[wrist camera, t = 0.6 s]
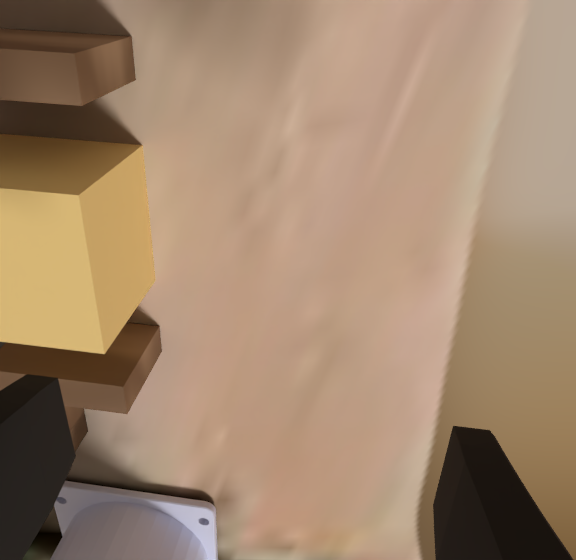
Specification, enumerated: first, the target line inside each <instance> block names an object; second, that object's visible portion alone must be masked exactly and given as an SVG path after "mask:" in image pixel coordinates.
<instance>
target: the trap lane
mask: <svg viewBox="0 0 576 560" xmlns="http://www.w3.org/2000/svg"><path fill="white" fill-rule="evenodd" d="M134 80H136V79H135V69H134V58H133V48H132V37H131V36H116V35H100V34H83V33H67V32H50V31H34V30H18V29H1V28H0V100H10V101H23V102H37V103H50V104H63V105H77V106H83V105H85V104H87V103H89V102H91V101H93V100H95V99H97V98H99V97H101V96H104V95H106V94H108V93H110V92H112V91H114V90H116V89H118V88H120V87H122V86H124V85H126V84H128V83H130V82H132V81H134ZM161 352H162V349H161V339H160V328H159V326H152V325H144V324H135V323H126V324H125V325H124V327H123V328H122V330H121V331H120V333H119V334H118V335H117V337H116V338H115V340H114V341H113V343H112V344H111V346H110V347H109V348H108V350H107V351H106V353H105V354H99V353H91V352H83V351H74V350H66V349H58V348H49V347H41V346H33V345H24V344H16V343H8V342H0V391H1V390H2V389H4V388H5V387H7V386H8V385H10V384H12V383H13V382H15V381H17V380H18V379H20V378H22V377H23V376H25V375H27V374H31V375H39V376H47V377H55V378H58V380H59V385H60V389H61V394H62V398H63V402H64V407H65V411H66V416H67V420H68V424H69V429H70V433H71V437H72V442H73V446H74V451H76V449H77V448H78V446H79V445H80V443H81V441H82V440H83V438H84V436H85V435H86V433H87V432H88V429H87V424H86V419H85V414H84V409H83V408H85V409H93V410H101V411H108V412H116V413H123V414H127V413H128V412H129V410H130V408H131V406H132V404H133V402H134V401H135V399H136V397H137V395H138V393H139V392H140V390H141V388H142V386H143V384H144V383H145V381H146V379H147V377H148V375H149V373H150V372H151V370H152V368H153V366H154V364H155V363H156V361H157V359H158V357H159V355H160V353H161Z"/></svg>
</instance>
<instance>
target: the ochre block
mask: <svg viewBox="0 0 576 560" xmlns="http://www.w3.org/2000/svg"><path fill="white" fill-rule="evenodd" d="M154 282H155V271H154V260H153V250H152V239H151V229H150V218H149V208H148V197H147V187H146V177H145V166H144V156H143V145H133V144H121V143H108V142H96V141H84V140H71V139H59V138H47V137H34V136H22V135H10V134H0V342H8V343H16V344H24V345H33V346H41V347H49V348H58V349H66V350H74V351H83V352H91V353H99V354H105V353H106V351H107V350H108V348H109V347H110V346H111V344H112V343H113V341H114V340H115V338H116V337H117V335H118V334H119V333H120V331H121V330H122V328H123V327H124V325H125V324H126V322H127V321H128V320H129V318H130V317H131V315H132V314H133V312H134V311H135V309H136V308H137V306H138V305H139V304H140V302H141V301H142V299H143V298H144V296H145V295H146V293H147V292H148V291H149V289H150V288H151V286H152V285H153V283H154Z"/></svg>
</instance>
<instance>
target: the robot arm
mask: <svg viewBox="0 0 576 560" xmlns="http://www.w3.org/2000/svg"><path fill="white" fill-rule="evenodd" d="M75 456H76V455H75V451H74V446H73V442H72V437H71V433H70V429H69V424H68V420H67V416H66V411H65V407H64V402H63V398H62V394H61V389H60V385H59V380H58V378H55V377H47V376H39V375H31V374H27V375H25V376H23V377H22V378H20V379H18V380H17V381H15V382H13V383H12V384H10V385H8V386H7V387H5V388H4V389H2V390H1V391H0V560H22V559H23V557H24V555H25V554H26V552H27V550H28V549H29V547H30V545H31V544H32V542H33V540H34V539H35V537H36V535H37V534H38V532H39V530H40V528H41V527H42V525H43V523H44V522H45V520H46V518H47V517H48V515H49V513H50V511H51V510H52V508H53V506H54V507H55V511H56V515H57V518H58V522H59V526H60V530H61V533H62V539H61V540H60V542H59V544H58V546H57V548H56V550H55V551H54V553H53V555H52V557H51V559H50V560H218V551H217V526H216V509H215V507H214V505H213V504H211V503H210V502H207V501H201V500H194V499H188V498H181V497H174V496H167V495H160V494H153V493H146V492H140V491H133V490H126V489H119V488H112V487H105V486H98V485H92V484H85V483H78V482H71V481H65V480H66V477H67V475H68V472H69V470H70V468H71V465H72V463H73V461H74V458H75ZM433 509H434V534H435V554H436V560H573V559H572V557H571V556H570V554H569V553H568V551H567V550H566V548H565V547H564V545H563V544H562V542H561V541H560V539H559V538H558V536H557V535H556V533H555V532H554V530H553V529H552V528H551V526H550V525H549V523H548V522H547V520H546V519H545V517H544V516H543V514H542V513H541V511H540V510H539V508H538V506H537V505H536V503H535V502H534V500H533V499H532V497H531V496H530V494H529V492H528V491H527V489H526V488H525V486H524V484H523V483H522V482H521V480H520V478H519V476H518V475H517V473H516V472H515V470H514V468H513V467H512V465H511V463H510V462H509V460H508V458H507V457H506V455H505V453H504V452H503V450H502V448H501V446H500V445H499V443H498V441H497V440H496V438H495V436H494V435H493V434H492V433H491V431H490V430H482V429H475V428H466V427H458V426H453V429H452V433H451V437H450V441H449V445H448V448H447V453H446V456H445V461H444V465H443V468H442V472H441V476H440V480H439V484H438V488H437V492H436V496H435V500H434V504H433Z"/></svg>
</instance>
